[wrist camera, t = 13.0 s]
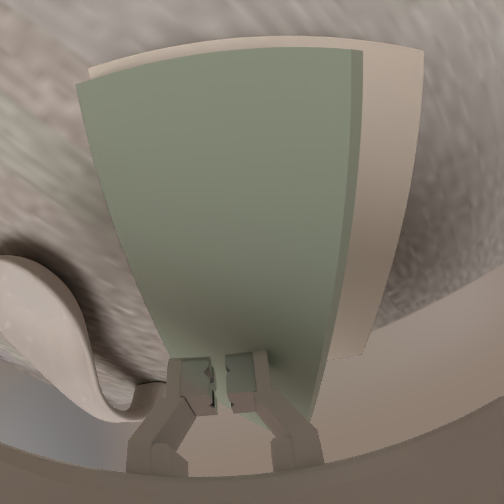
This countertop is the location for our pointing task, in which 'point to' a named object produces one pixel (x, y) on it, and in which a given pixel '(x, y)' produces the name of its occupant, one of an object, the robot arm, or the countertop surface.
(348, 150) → the cover
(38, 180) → the countertop surface
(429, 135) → the countertop surface
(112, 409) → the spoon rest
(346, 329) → the beige rectangular box
